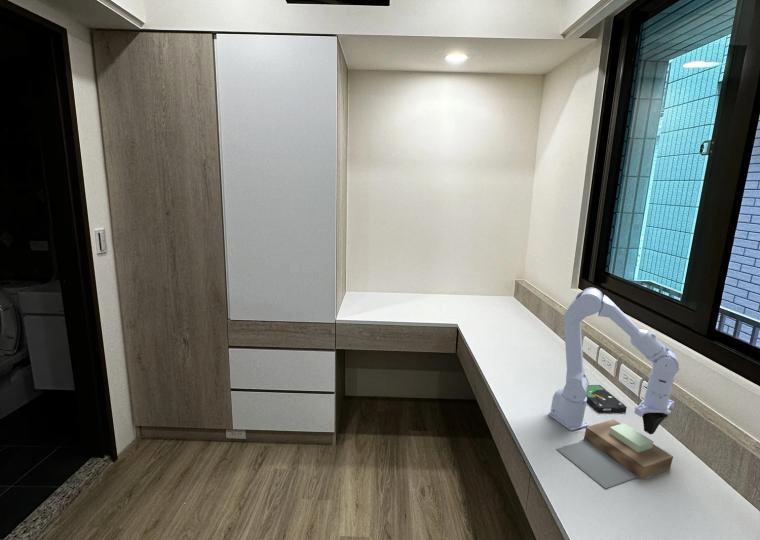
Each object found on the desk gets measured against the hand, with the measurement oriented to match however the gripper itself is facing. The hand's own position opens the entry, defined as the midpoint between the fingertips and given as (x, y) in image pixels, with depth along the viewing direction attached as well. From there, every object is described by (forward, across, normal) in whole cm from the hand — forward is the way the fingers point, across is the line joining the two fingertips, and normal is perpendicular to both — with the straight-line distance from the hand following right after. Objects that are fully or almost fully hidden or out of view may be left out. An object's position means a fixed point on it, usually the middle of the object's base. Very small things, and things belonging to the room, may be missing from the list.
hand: (648, 432), depth 120 cm
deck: (+5, -9, 0) cm, 10 cm away
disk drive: (+6, +9, +23) cm, 25 cm away
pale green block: (+1, -8, 0) cm, 8 cm away
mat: (+5, -21, 0) cm, 22 cm away
